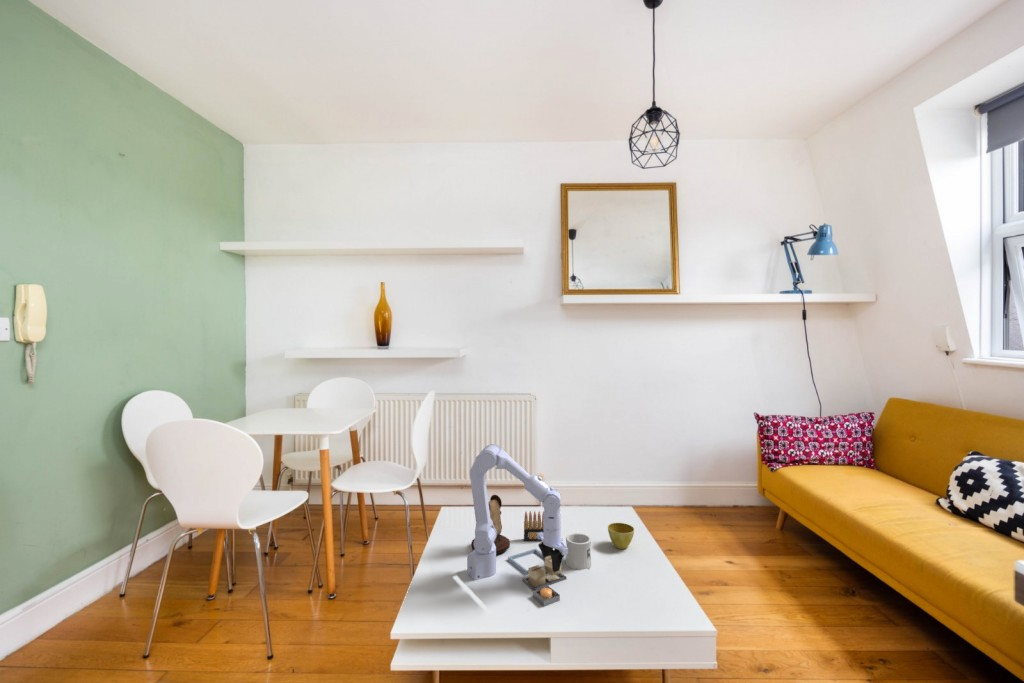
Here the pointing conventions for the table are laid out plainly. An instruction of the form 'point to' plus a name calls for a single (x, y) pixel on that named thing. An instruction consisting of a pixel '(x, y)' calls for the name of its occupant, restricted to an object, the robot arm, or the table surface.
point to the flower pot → (620, 534)
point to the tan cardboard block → (550, 566)
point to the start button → (545, 592)
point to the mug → (578, 551)
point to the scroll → (496, 525)
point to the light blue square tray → (522, 556)
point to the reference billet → (536, 575)
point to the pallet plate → (548, 579)
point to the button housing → (547, 601)
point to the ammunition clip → (533, 526)
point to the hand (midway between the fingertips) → (552, 567)
